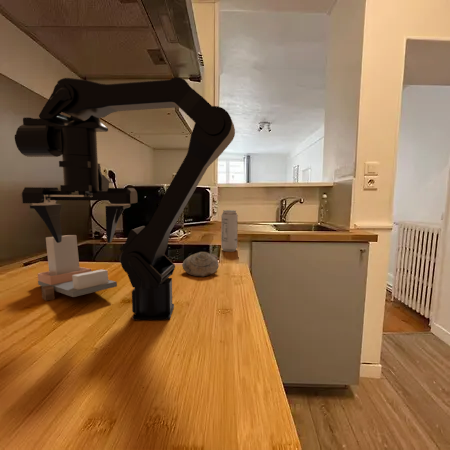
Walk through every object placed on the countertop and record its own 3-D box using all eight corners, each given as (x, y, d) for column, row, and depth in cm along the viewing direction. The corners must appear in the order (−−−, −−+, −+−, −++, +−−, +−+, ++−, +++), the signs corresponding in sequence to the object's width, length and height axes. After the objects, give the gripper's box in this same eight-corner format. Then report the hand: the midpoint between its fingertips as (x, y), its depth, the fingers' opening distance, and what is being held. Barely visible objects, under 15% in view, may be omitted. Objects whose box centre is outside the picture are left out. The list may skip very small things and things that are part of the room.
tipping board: (116, 286, 63) (115, 269, 63) (73, 297, 57) (71, 278, 57) (77, 277, 78) (75, 263, 77) (38, 284, 71) (36, 269, 71)
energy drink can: (239, 251, 112) (239, 211, 110) (223, 252, 111) (223, 211, 109) (234, 248, 118) (235, 210, 116) (219, 249, 117) (219, 210, 115)
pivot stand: (105, 286, 71) (105, 276, 71) (46, 301, 62) (45, 289, 62) (100, 284, 73) (100, 274, 73) (42, 298, 64) (41, 287, 63)
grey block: (80, 277, 71) (76, 235, 71) (57, 282, 68) (53, 237, 67) (72, 275, 75) (68, 235, 74) (49, 279, 71) (45, 237, 71)
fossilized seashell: (173, 267, 83) (182, 243, 83) (194, 271, 92) (202, 249, 92) (204, 281, 77) (213, 255, 78) (223, 284, 86) (231, 261, 87)
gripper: (143, 161, 63) (144, 235, 65) (50, 160, 62) (55, 235, 64) (128, 155, 52) (130, 245, 54) (15, 154, 51) (22, 245, 53)
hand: (84, 242), depth 56 cm, fingers open, 9 cm apart
